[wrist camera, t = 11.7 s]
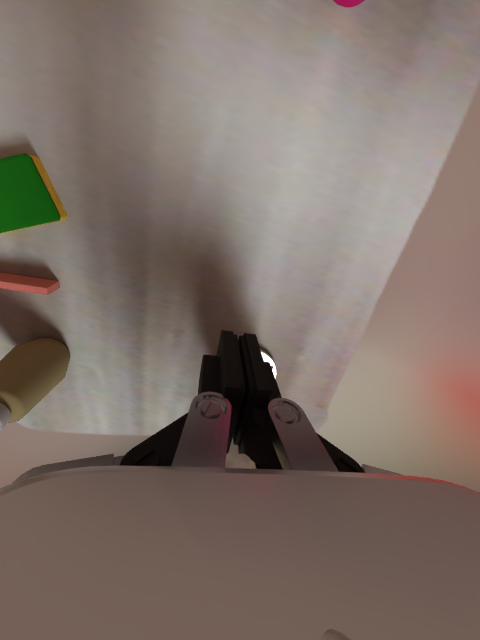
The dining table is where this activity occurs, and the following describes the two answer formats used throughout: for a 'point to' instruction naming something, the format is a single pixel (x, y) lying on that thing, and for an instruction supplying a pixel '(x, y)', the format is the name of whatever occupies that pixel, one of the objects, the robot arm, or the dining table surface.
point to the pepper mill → (348, 2)
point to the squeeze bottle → (30, 376)
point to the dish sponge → (26, 194)
